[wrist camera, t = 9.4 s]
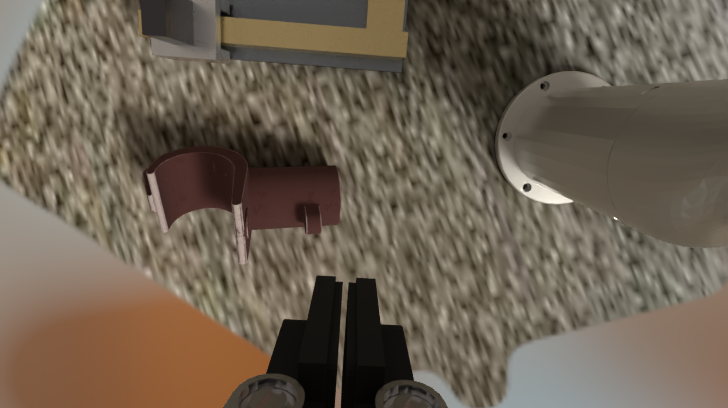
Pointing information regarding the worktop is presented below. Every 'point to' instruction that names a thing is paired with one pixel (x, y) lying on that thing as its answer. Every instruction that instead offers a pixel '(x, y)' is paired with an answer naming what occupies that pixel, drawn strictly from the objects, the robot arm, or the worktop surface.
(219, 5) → the slider
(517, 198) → the worktop surface
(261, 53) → the hole plate
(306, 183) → the bracket
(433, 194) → the worktop surface
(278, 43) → the beam
